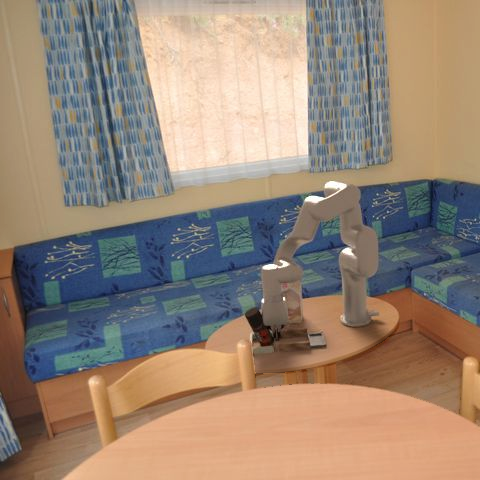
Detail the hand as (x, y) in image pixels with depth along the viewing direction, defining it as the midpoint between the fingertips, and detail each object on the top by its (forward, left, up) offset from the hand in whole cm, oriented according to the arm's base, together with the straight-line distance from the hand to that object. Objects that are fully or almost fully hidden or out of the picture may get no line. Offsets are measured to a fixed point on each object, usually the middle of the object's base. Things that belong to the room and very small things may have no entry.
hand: (277, 339), depth 181 cm
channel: (-6, 0, -2) cm, 7 cm away
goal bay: (+6, 0, -2) cm, 6 cm away
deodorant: (+4, 0, -1) cm, 4 cm away
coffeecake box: (-4, -21, -2) cm, 22 cm away
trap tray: (-15, 0, -2) cm, 15 cm away
